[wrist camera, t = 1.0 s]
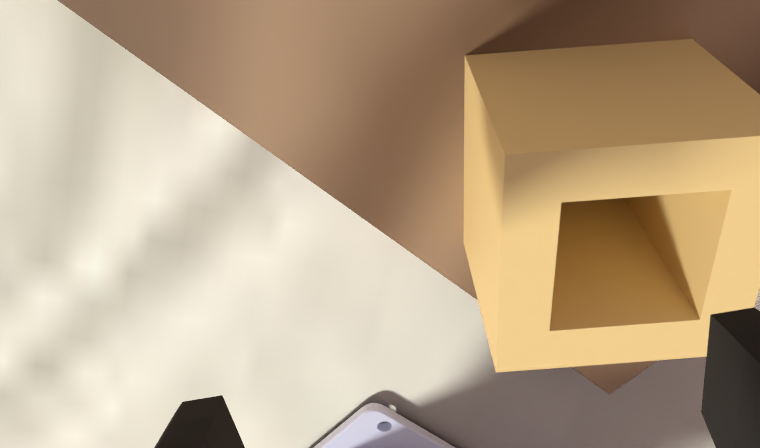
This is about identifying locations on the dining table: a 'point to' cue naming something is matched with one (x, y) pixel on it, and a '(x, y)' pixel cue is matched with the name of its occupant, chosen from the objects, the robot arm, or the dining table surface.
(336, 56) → the board
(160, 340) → the dining table surface
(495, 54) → the square hole block
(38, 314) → the dining table surface
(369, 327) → the dining table surface
